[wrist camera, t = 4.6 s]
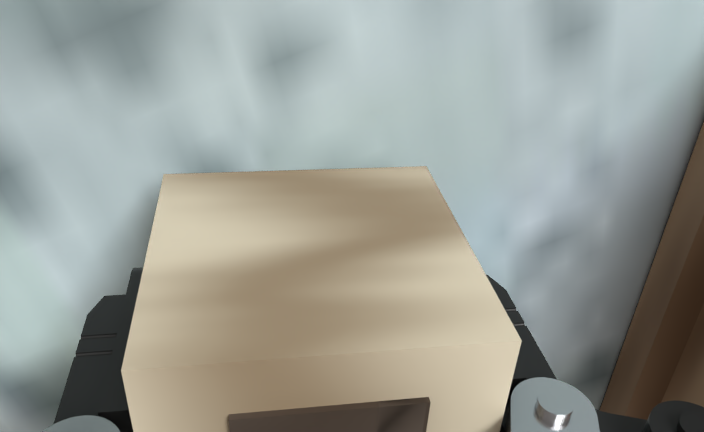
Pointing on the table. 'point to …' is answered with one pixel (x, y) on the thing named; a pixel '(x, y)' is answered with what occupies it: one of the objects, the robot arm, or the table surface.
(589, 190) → the table surface
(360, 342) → the letter cube
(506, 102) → the table surface
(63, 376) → the table surface
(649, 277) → the walnut screen
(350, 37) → the table surface
